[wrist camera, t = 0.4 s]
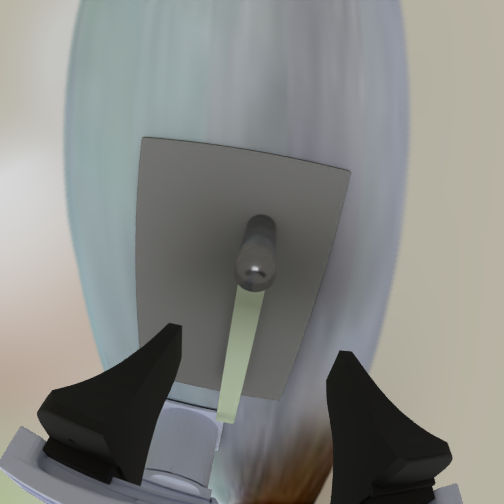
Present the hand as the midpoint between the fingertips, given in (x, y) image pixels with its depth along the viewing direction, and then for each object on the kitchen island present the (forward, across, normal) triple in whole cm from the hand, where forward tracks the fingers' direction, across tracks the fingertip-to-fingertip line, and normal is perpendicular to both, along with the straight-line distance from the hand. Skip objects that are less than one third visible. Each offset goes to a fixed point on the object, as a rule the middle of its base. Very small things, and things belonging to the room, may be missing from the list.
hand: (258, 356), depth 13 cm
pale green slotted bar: (+9, +1, +5) cm, 10 cm away
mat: (+10, +3, +3) cm, 11 cm away
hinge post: (+10, +1, -3) cm, 10 cm away
